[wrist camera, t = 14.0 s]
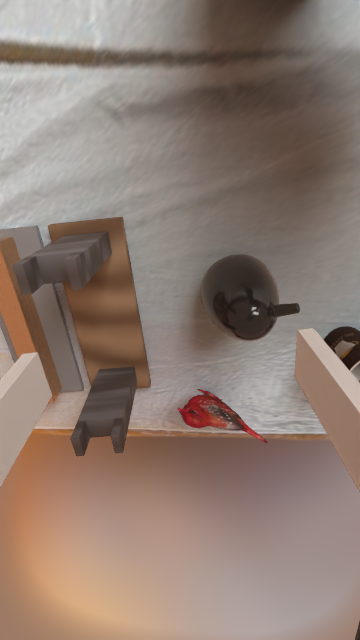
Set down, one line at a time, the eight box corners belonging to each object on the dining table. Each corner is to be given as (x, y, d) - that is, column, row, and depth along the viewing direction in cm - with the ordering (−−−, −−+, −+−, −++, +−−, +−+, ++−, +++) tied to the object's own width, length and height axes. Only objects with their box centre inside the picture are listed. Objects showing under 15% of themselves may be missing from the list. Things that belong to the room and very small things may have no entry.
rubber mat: (-32, 232, 44) (-36, 234, 43) (37, 225, 44) (35, 226, 43) (29, 392, 56) (27, 395, 55) (83, 387, 56) (82, 390, 55)
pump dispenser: (274, 300, 49) (312, 351, 35) (210, 320, 50) (222, 377, 36) (259, 237, 44) (295, 267, 31) (190, 261, 46) (194, 300, 32)
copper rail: (-8, 238, 44) (-25, 244, 40) (13, 236, 43) (-2, 242, 40) (45, 388, 55) (35, 404, 51) (61, 387, 55) (53, 402, 51)
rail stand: (51, 224, 44) (-15, 251, 29) (122, 216, 43) (92, 240, 28) (95, 386, 55) (64, 465, 41) (150, 381, 55) (140, 459, 40)
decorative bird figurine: (182, 371, 54) (182, 412, 45) (264, 411, 58) (279, 456, 49) (173, 383, 55) (172, 425, 46) (254, 422, 59) (268, 467, 50)
